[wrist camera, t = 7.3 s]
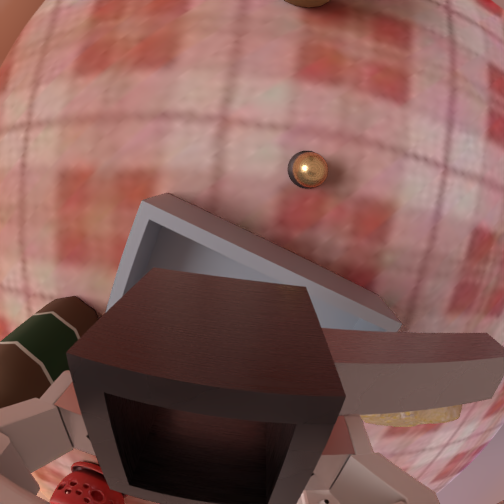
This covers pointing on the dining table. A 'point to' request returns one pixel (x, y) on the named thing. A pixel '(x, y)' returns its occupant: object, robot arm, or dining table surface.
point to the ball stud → (307, 169)
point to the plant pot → (86, 487)
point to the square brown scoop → (247, 386)
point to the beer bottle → (41, 349)
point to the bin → (239, 263)
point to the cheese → (415, 417)
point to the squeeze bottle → (307, 2)
